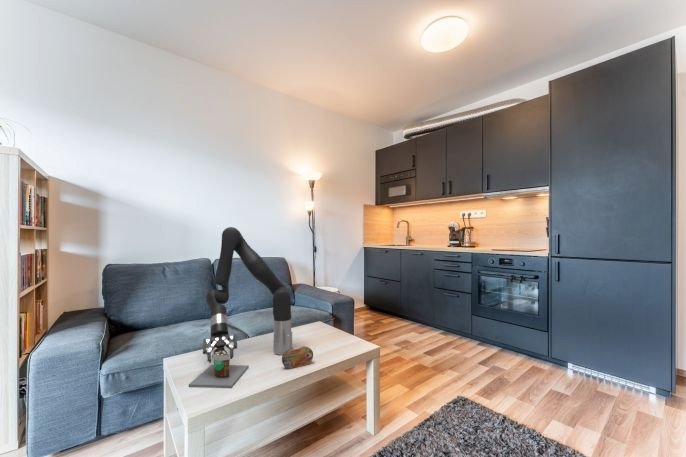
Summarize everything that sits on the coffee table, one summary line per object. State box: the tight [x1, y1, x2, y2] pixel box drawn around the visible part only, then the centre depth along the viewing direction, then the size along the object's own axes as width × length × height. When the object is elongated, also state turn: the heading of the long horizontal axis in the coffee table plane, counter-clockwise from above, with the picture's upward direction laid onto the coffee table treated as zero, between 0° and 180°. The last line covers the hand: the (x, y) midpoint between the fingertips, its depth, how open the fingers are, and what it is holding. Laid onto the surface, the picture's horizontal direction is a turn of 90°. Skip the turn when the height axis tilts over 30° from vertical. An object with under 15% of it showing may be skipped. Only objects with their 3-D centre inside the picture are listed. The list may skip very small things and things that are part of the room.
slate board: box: [188, 364, 249, 389], centre depth 126 cm, size 18×18×1 cm
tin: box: [281, 345, 314, 370], centre depth 137 cm, size 15×3×8 cm, turn 117°
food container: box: [211, 346, 231, 378], centre depth 126 cm, size 12×6×10 cm, turn 33°
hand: (220, 359), depth 125 cm, fingers open, 8 cm apart
